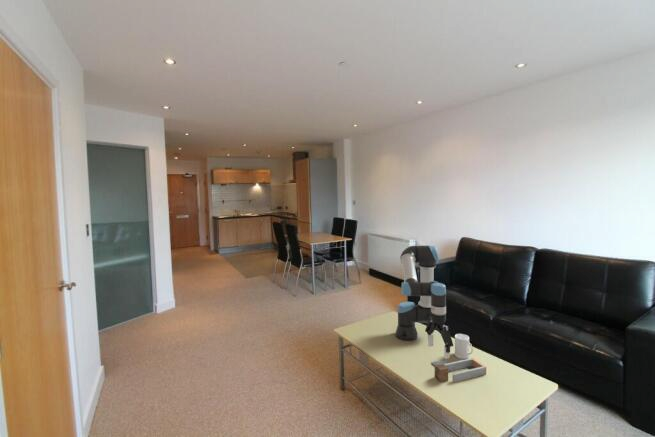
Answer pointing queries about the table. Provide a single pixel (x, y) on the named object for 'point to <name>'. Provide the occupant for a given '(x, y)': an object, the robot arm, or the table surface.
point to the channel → (473, 371)
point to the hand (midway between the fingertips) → (438, 351)
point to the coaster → (438, 362)
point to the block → (441, 372)
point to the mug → (462, 346)
